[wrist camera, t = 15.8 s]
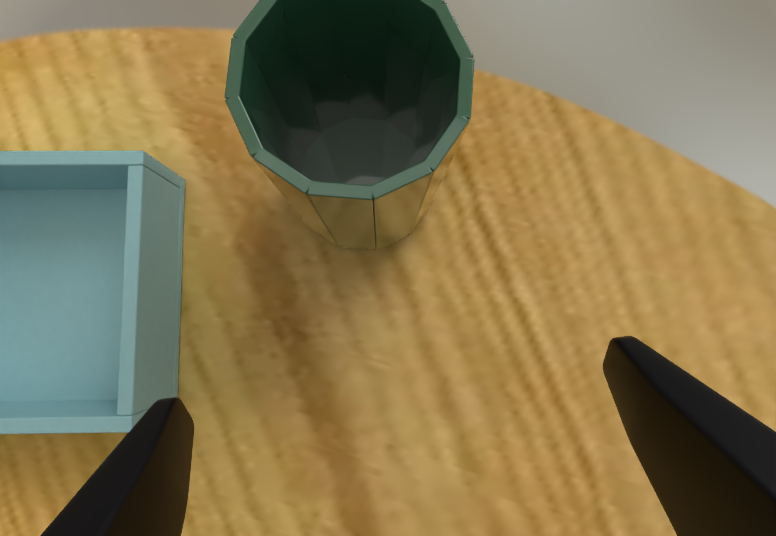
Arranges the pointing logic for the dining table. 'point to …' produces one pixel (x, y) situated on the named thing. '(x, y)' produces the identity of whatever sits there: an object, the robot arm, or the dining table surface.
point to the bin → (87, 289)
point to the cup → (352, 109)
